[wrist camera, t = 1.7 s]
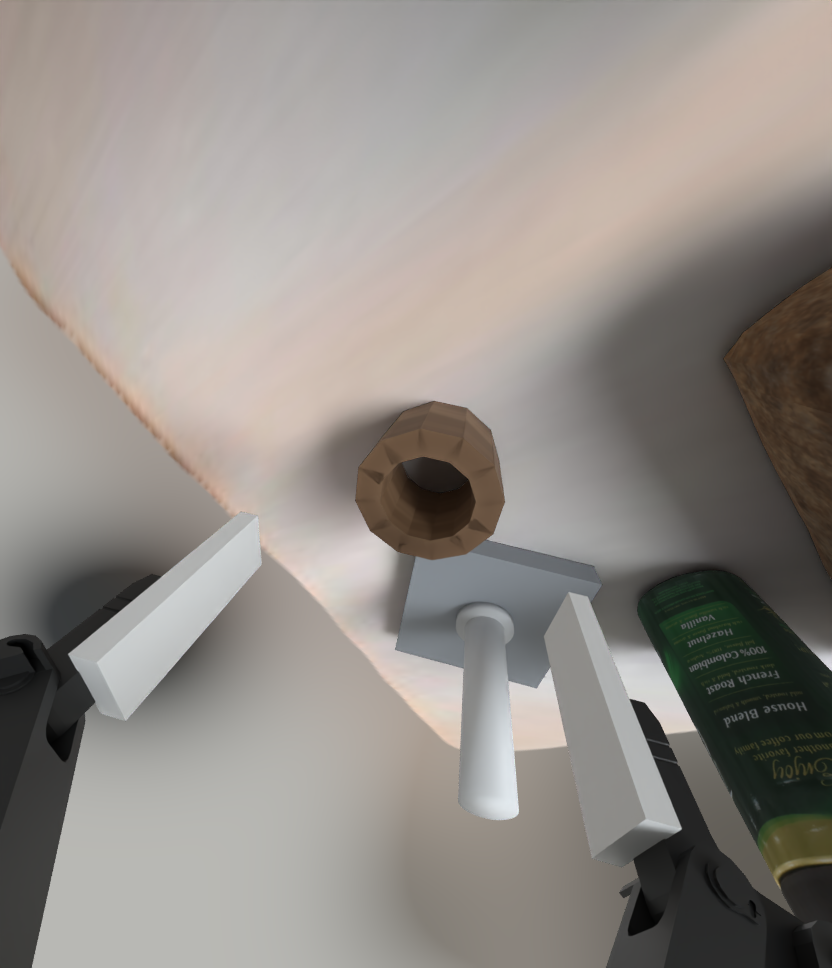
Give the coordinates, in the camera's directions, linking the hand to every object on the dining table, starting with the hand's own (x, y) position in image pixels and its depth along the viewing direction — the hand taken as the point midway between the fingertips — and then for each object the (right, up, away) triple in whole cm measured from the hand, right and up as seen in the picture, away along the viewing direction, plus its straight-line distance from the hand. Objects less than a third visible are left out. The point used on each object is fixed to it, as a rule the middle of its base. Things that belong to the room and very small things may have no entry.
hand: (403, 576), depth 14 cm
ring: (+2, +6, +10) cm, 12 cm away
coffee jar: (+23, -6, +13) cm, 27 cm away
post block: (+7, -7, +16) cm, 19 cm away
